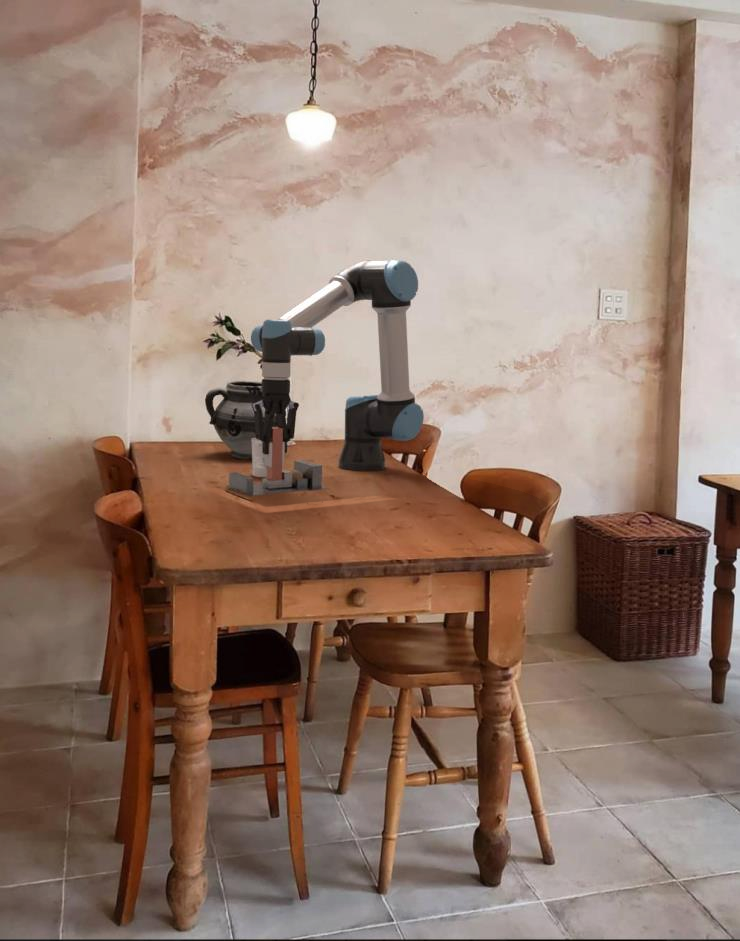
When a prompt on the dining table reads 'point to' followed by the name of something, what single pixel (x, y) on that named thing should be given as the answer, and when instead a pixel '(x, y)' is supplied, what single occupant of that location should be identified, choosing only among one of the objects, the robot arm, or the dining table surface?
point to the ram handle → (277, 463)
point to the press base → (308, 482)
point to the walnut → (296, 476)
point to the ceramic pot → (236, 415)
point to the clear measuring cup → (258, 459)
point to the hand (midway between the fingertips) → (274, 465)
